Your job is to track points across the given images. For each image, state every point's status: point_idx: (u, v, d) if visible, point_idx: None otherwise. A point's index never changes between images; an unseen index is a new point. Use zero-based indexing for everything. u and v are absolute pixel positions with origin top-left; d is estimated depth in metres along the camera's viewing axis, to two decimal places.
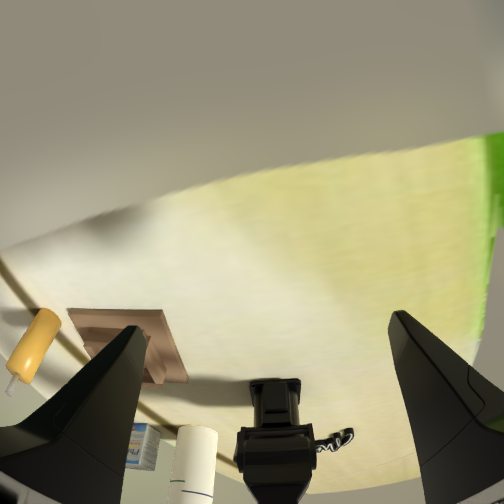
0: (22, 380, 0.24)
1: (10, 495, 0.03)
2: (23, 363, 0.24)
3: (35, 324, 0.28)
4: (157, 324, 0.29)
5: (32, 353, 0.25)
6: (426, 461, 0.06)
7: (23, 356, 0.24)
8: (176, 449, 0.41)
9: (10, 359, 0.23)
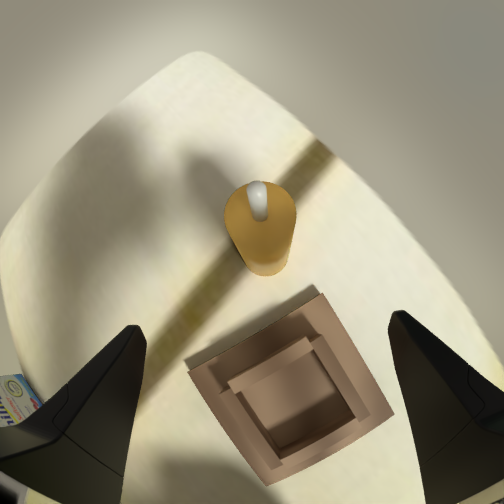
0: (236, 223, 0.15)
1: (10, 495, 0.03)
2: (293, 231, 0.16)
3: None
4: (380, 417, 0.20)
5: (289, 245, 0.17)
6: (426, 461, 0.06)
7: None
8: None
9: None
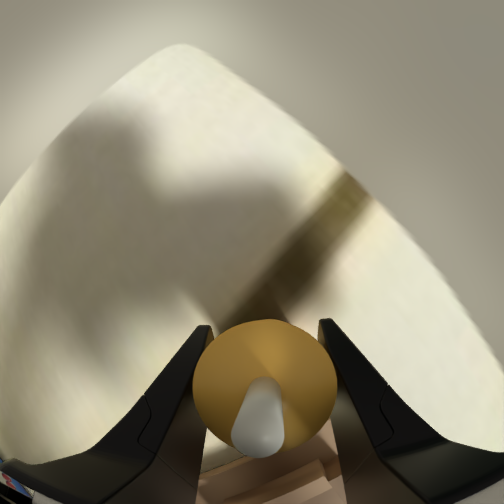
0: (216, 406, 0.07)
1: None
2: None
3: None
4: None
5: None
6: (347, 480, 0.06)
7: None
8: None
9: None
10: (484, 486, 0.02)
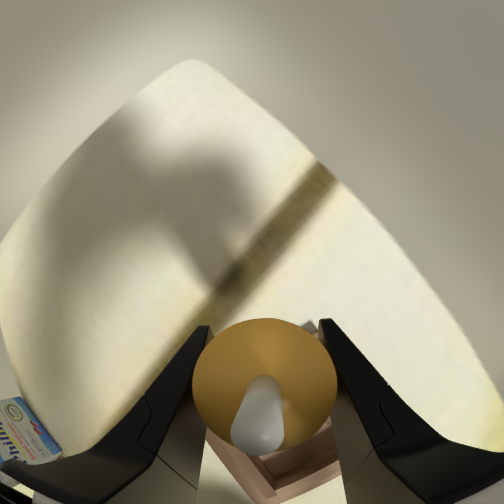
0: (216, 404, 0.07)
1: None
2: None
3: None
4: None
5: None
6: (347, 480, 0.06)
7: None
8: None
9: None
10: (484, 486, 0.02)
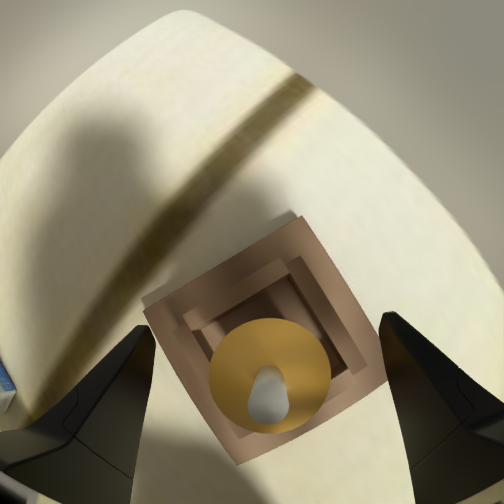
0: (228, 391, 0.08)
1: (19, 501, 0.03)
2: None
3: None
4: (380, 375, 0.17)
5: None
6: (416, 464, 0.06)
7: None
8: None
9: None
10: None
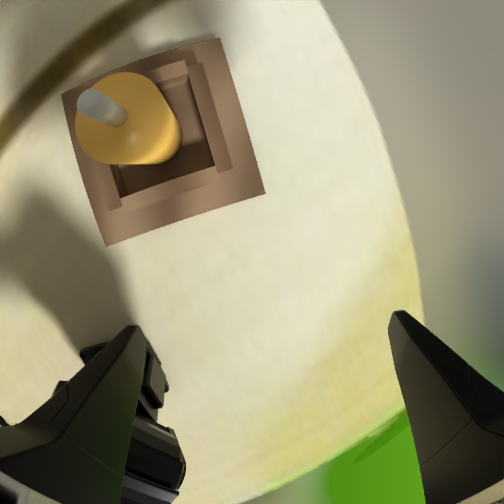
0: (87, 124, 0.09)
1: (10, 495, 0.03)
2: (159, 142, 0.11)
3: (179, 128, 0.16)
4: (247, 189, 0.21)
5: (160, 151, 0.13)
6: (426, 461, 0.06)
7: (166, 135, 0.11)
8: None
9: None
10: None
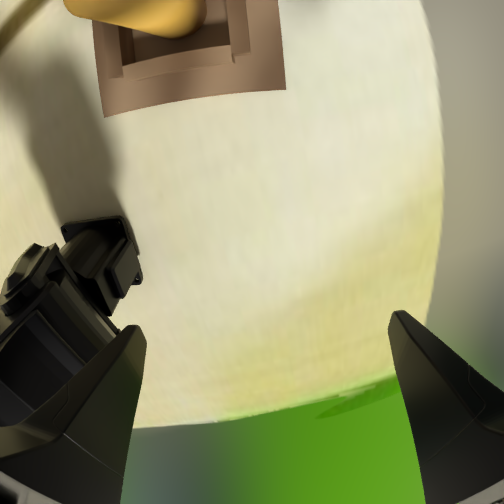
0: None
1: (10, 495, 0.03)
2: None
3: (196, 1, 0.11)
4: (266, 81, 0.16)
5: (157, 13, 0.09)
6: (426, 461, 0.06)
7: None
8: None
9: None
10: None
